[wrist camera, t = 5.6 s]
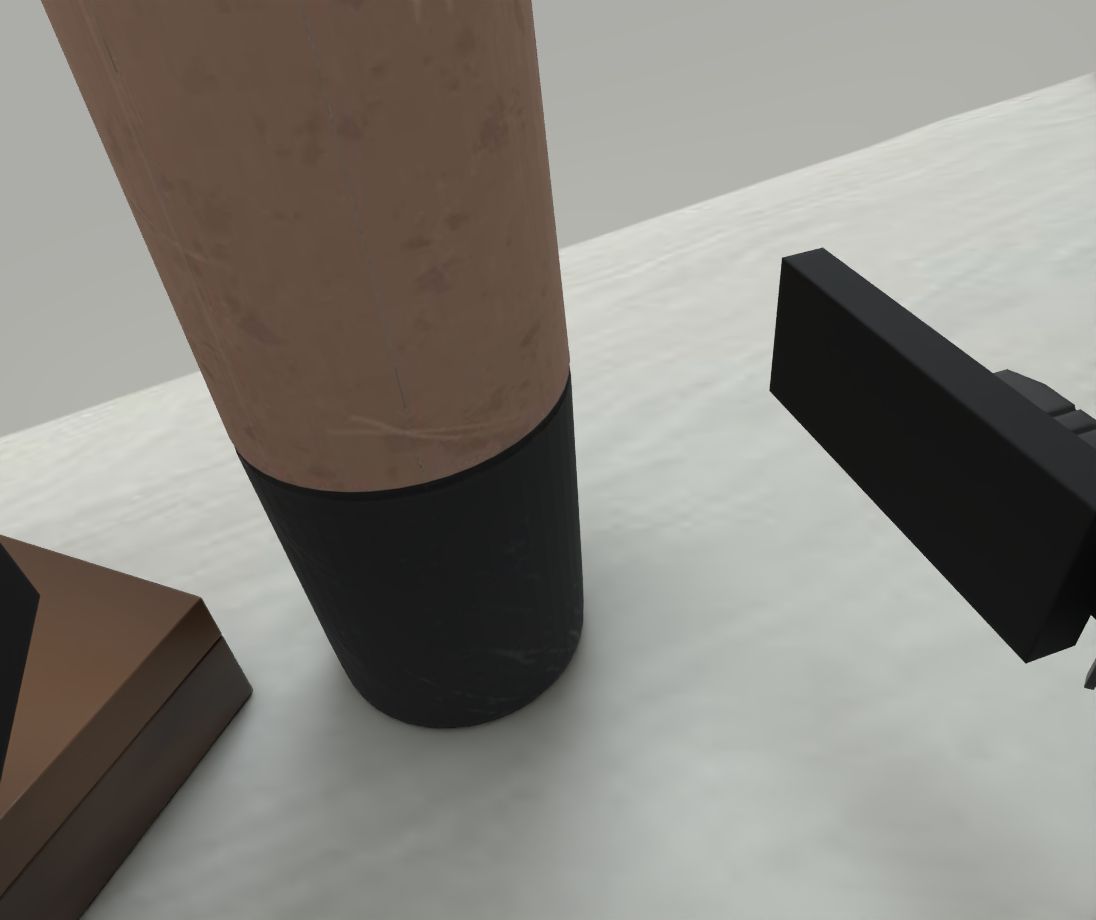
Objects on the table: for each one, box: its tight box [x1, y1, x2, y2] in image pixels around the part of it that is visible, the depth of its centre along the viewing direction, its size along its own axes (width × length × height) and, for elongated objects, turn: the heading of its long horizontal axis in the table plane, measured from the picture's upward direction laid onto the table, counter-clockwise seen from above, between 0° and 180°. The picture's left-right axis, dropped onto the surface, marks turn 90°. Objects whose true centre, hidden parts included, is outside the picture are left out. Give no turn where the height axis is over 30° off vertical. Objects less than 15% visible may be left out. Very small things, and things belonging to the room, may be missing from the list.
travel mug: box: [41, 0, 583, 728], centre depth 18 cm, size 8×8×20 cm
